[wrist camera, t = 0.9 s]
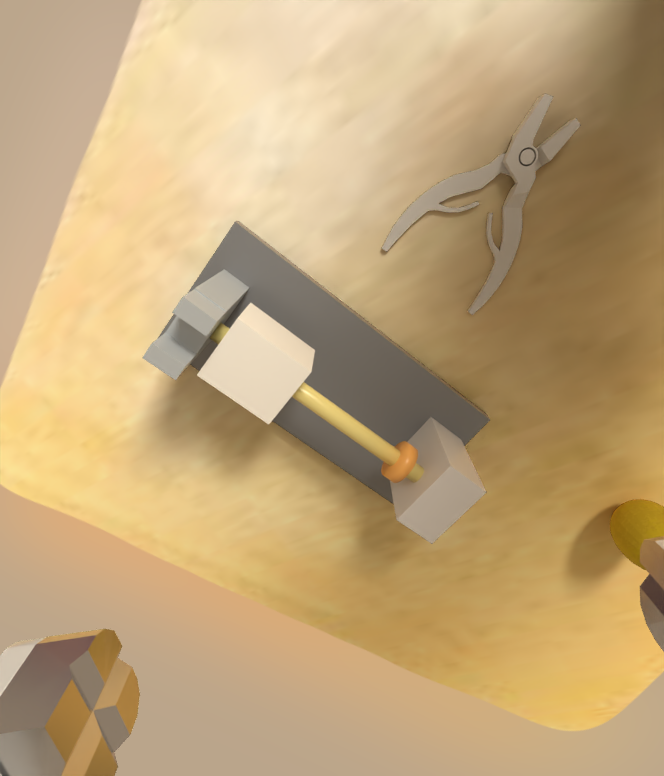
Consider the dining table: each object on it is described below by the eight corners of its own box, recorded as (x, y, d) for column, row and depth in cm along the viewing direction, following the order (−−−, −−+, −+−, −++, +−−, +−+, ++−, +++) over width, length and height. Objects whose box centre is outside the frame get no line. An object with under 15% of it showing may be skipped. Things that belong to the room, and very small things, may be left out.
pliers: (380, 247, 38) (512, 60, 33) (378, 245, 40) (505, 65, 35) (477, 319, 40) (615, 151, 35) (472, 314, 42) (604, 153, 37)
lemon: (628, 473, 46) (683, 526, 39) (665, 505, 48) (725, 562, 40) (582, 510, 48) (627, 568, 41) (619, 540, 49) (668, 602, 42)
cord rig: (238, 220, 39) (196, 231, 28) (486, 414, 44) (535, 488, 33) (160, 337, 42) (96, 388, 31) (399, 502, 48) (417, 595, 37)
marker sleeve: (250, 302, 37) (237, 318, 32) (315, 350, 38) (311, 372, 33) (214, 353, 38) (196, 375, 33) (277, 397, 39) (268, 424, 35)
